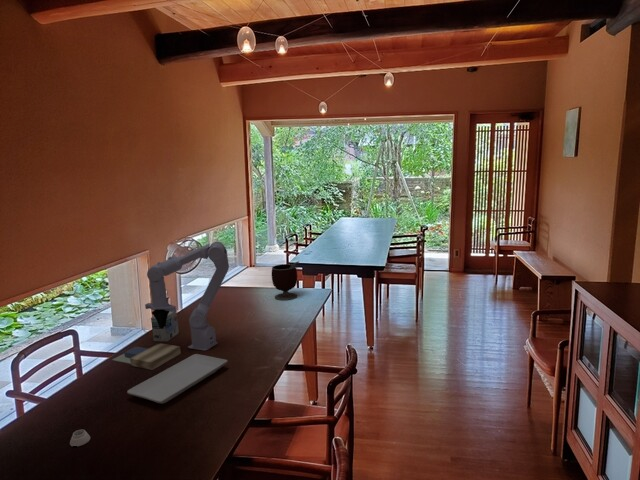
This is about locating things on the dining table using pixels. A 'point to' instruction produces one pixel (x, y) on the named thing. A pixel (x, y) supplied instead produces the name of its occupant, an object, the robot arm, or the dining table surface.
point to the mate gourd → (285, 280)
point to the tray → (177, 378)
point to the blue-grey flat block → (134, 351)
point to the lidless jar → (79, 438)
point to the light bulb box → (165, 328)
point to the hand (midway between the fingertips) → (162, 326)
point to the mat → (122, 359)
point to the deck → (155, 356)
